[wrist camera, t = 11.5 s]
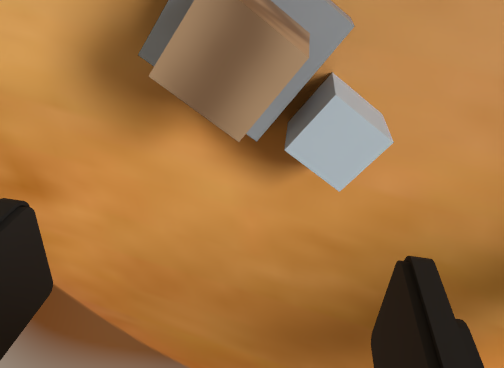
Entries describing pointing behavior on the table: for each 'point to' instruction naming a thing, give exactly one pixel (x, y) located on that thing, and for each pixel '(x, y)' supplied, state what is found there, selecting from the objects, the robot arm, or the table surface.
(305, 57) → the walnut cube
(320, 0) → the grey rectangular block
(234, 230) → the table surface
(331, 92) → the bluegrey block
